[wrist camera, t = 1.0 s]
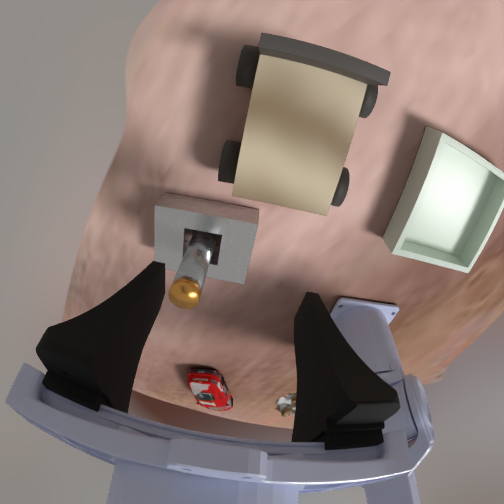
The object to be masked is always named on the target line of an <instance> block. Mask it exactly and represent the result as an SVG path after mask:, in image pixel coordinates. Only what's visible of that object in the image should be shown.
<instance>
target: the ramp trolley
mask: <svg viewBox="0 0 504 504" xmlns="http://www.w3.org/2000/svg"><path fill="white" fill-rule="evenodd" d="M390 73H391V72H389V71H387V70H385V69H383V68H380V67H378V66H375V65H373V64H371V63H368V62H366V61H363V60H360V59H358V58H355V57H352V56H350V55H347V54H344V53H341V52H338V51H335V50H332V49H328V48H325V47H322V46H318V45H315V44H311V43H307V42H303V41H299V40H295V39H291V38H286V37H282V36H277V35H272V34H266V33H261V37H260V42H259V46H258V47H255V46H249V45H244V47H243V49H242V52H241V55H240V59H239V63H238V68H237V75H236V86H242V87H248V88H253V89H252V94H251V99H250V103H249V108H248V113H247V118H246V123H245V128H244V133H243V138H242V143H240V142H234V141H229V140H226V142H225V145H224V148H223V151H222V156H221V160H220V166H219V173H218V181H221V182H227V183H232V184H234V186H233V192H232V196H234V197H239V198H244V199H250V200H255V201H260V202H264V203H269V204H274V205H279V206H283V207H288V208H293V209H297V210H302V211H306V212H310V213H315V214H319V215H323V216H327V213H328V210H329V208H330V205H333V206H337V207H338V206H340V205H341V204H342V203H343V201H344V199H345V197H346V194H347V191H348V186H349V171H348V169H347V168H345V167H343V166H344V163H345V160H346V157H347V153H348V150H349V147H350V144H351V141H352V137H353V134H354V131H355V127H356V124H357V120H358V117H362V118H366V117H368V116H369V115H370V113H371V112H372V110H373V108H374V106H375V103H376V99H377V94H378V85H384V86H387V84H388V81H389V77H390Z"/></svg>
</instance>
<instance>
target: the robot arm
mask: <svg viewBox="0 0 504 504" xmlns="http://www.w3.org/2000/svg"><path fill="white" fill-rule="evenodd" d="M164 295H165V263H161V262H157V261H153V262H152V263H151V264H149V265H148V266H147V267H146V268H145V269H144V270H143V271H142V272H141V273H140V274H138V275H137V276H136V277H135V278H134V279H133V280H132V281H130V282H129V283H128V284H127V285H126V286H124V287H123V288H122V289H121V290H119V291H118V292H117V293H115V294H114V295H113V296H111V297H110V298H108V299H107V300H106V301H104V302H102V303H101V304H99V305H98V306H96V307H94V308H92V309H91V310H89V311H87V312H85V313H83V314H81V315H79V316H77V317H75V318H72V319H70V320H68V321H65V322H62V323H59V324H57V325H54V326H50V327H48V328H47V330H46V331H45V333H44V334H43V336H42V338H41V340H40V342H39V343H38V346H37V347H36V353H37V355H38V357H39V358H40V360H41V361H42V363H43V364H44V366H45V367H46V369H47V370H48V371H47V373H46V375H45V374H43V373H42V372H41V371H39V370H37V369H35V368H34V367H32V366H30V365H28V364H26V363H23V365H22V367H21V369H20V371H19V373H18V375H17V377H16V379H15V381H14V383H13V385H12V387H11V389H10V392H9V394H8V396H7V398H6V403H7V404H8V405H9V406H10V407H11V408H12V409H14V410H15V411H16V412H17V413H18V414H20V415H21V416H22V417H23V418H25V419H26V420H27V421H28V422H30V423H31V424H33V425H35V426H36V427H38V428H40V429H41V430H43V431H45V432H46V433H48V434H50V435H52V436H54V437H55V438H57V439H59V440H61V441H63V442H65V443H67V444H69V445H70V446H73V447H74V448H76V449H78V450H81V451H83V452H85V453H87V454H89V455H91V456H94V457H96V458H98V459H101V460H103V461H105V462H108V463H110V464H113V465H115V467H114V472H113V475H112V480H111V484H110V488H109V493H108V498H107V503H106V504H298V493H311V492H321V491H330V490H337V489H344V488H351V487H356V486H361V487H363V488H364V489H365V493H366V498H367V502H368V504H420V500H419V494H418V489H417V484H416V479H415V474H414V469H415V468H416V467H417V466H418V465H419V464H420V462H421V461H422V460H423V459H424V457H425V456H426V455H427V454H428V453H429V451H430V450H431V449H432V446H433V441H434V438H435V435H434V429H433V425H432V417H431V412H430V408H429V404H428V401H427V398H426V395H425V392H424V389H423V387H422V384H421V382H420V380H419V378H418V377H416V376H413V375H412V374H409V375H407V376H405V375H404V371H403V368H402V365H401V361H400V358H399V355H398V352H397V349H396V346H395V343H394V340H393V337H392V334H391V331H390V328H389V323H390V322H391V321H392V319H393V318H394V316H395V315H396V314H397V312H398V311H399V307H398V306H397V305H391V304H384V303H377V302H370V301H364V300H357V299H350V298H340V299H338V301H337V302H336V304H335V306H334V308H333V310H332V312H331V313H330V314H329V312H328V311H327V309H326V307H325V305H324V303H323V302H322V300H321V298H320V296H319V295H318V294H316V293H311V292H307V293H306V295H305V297H304V299H303V301H302V303H301V305H300V308H299V310H298V312H297V314H296V316H295V318H294V345H295V356H296V367H297V395H296V409H295V419H294V427H293V434H292V441H291V442H278V441H263V440H252V439H242V438H234V437H227V436H220V435H214V434H208V433H202V432H197V431H192V430H187V429H182V428H178V427H174V426H170V425H165V424H162V423H158V422H154V421H150V420H147V419H143V418H140V417H137V416H134V415H130V414H128V408H129V402H130V397H131V392H132V388H133V383H134V379H135V375H136V371H137V367H138V364H139V360H140V357H141V353H142V350H143V347H144V345H145V342H146V340H147V338H148V335H149V333H150V331H151V328H152V326H153V324H154V322H155V319H156V317H157V315H158V313H159V310H160V308H161V305H162V301H163V298H164ZM339 305H340V306H339ZM413 438H414V439H413ZM410 439H412V440H410ZM408 440H410V441H408ZM407 441H408V442H407Z"/></svg>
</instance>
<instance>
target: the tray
mask: <svg viewBox="0 0 504 504" xmlns="http://www.w3.org/2000/svg"><path fill="white" fill-rule="evenodd" d="M503 208H504V173H503V172H502V171H500V170H499V169H498V168H496V167H495V166H494V165H492V164H491V163H490V162H488V161H487V160H485V159H484V158H482V157H481V156H479V155H478V154H477V153H475V152H474V151H472V150H470V149H469V148H467V147H466V146H464V145H463V144H461V143H459V142H458V141H456V140H454V139H453V138H451V137H449V136H448V135H446V134H444V133H442V132H440V131H438V130H435V129H433V128H430V127H428V126H426V128H425V132H424V135H423V138H422V141H421V144H420V147H419V150H418V153H417V156H416V158H415V161H414V164H413V167H412V169H411V172H410V175H409V177H408V180H407V182H406V185H405V187H404V190H403V192H402V195H401V197H400V200H399V202H398V204H397V207H396V209H395V211H394V214H393V216H392V218H391V220H390V223H389V225H388V227H387V229H386V231H385V233H384V236H383V240H384V241H385V243H386V245H387V247H388V248H389V250H390V252H391V253H392V254H395V255H399V256H403V257H408V258H412V259H416V260H420V261H424V262H428V263H431V264H435V265H439V266H443V267H447V268H451V269H455V270H458V271H462V272H466V273H469V271H470V270H471V268H472V266H473V265H474V263H475V261H476V260H477V258H478V256H479V255H480V253H481V251H482V249H483V248H484V246H485V244H486V242H487V240H488V238H489V236H490V235H491V233H492V231H493V229H494V227H495V225H496V223H497V221H498V218H499V216H500V214H501V212H502V210H503Z"/></svg>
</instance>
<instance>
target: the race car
mask: <svg viewBox="0 0 504 504" xmlns="http://www.w3.org/2000/svg"><path fill="white" fill-rule="evenodd" d="M188 385H189V387H190V389H191V391H192V393H193V395H194V397H195V398H196V400H197V404H200V405H201V406H204V407H206V408H208V409H212V410H217V411H225V410H229V409H231V408H232V407H233V398H232V396H231V394H230V392H229V390H228V387H227V385H226V383H225V381H224V378H223V376H222V374H221V373H220V372H218V371H216V370H211V369H208V370H207V369H195V368H194V369H193V368H192V369H190V370H189V372H188Z"/></svg>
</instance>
